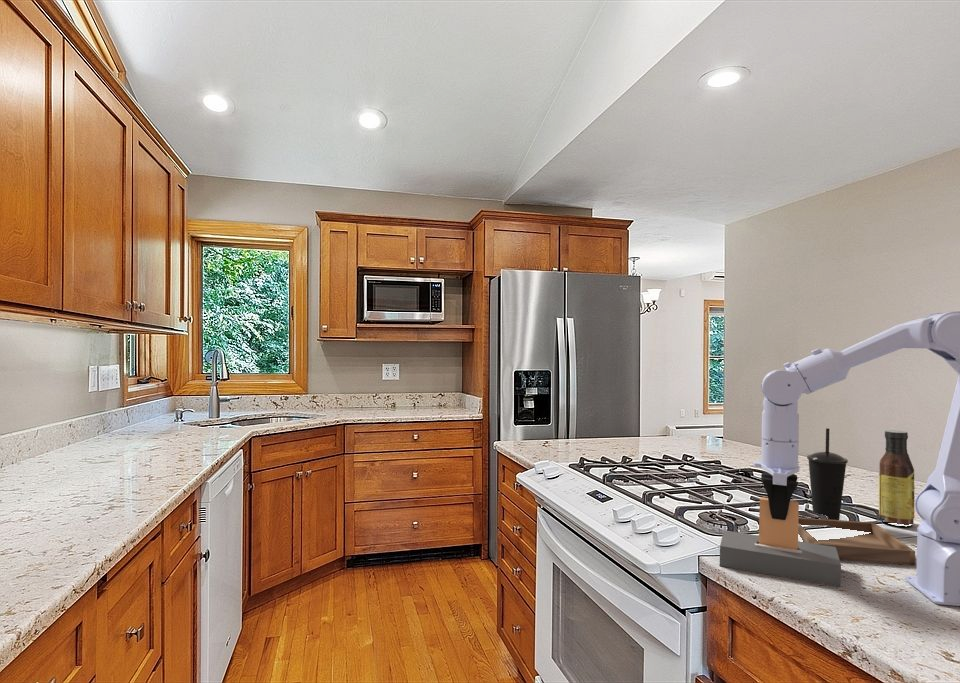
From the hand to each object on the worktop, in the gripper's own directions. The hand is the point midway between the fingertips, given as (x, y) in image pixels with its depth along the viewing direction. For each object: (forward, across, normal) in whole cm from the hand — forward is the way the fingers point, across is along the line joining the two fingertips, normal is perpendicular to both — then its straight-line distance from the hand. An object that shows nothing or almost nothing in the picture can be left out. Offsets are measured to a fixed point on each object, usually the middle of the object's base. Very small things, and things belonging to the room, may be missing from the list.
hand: (778, 517), depth 102 cm
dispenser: (+9, 0, 0) cm, 9 cm away
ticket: (+5, 0, 0) cm, 5 cm away
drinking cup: (+9, -34, +10) cm, 36 cm away
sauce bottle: (+9, -38, +23) cm, 45 cm away
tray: (+9, -18, +12) cm, 23 cm away
